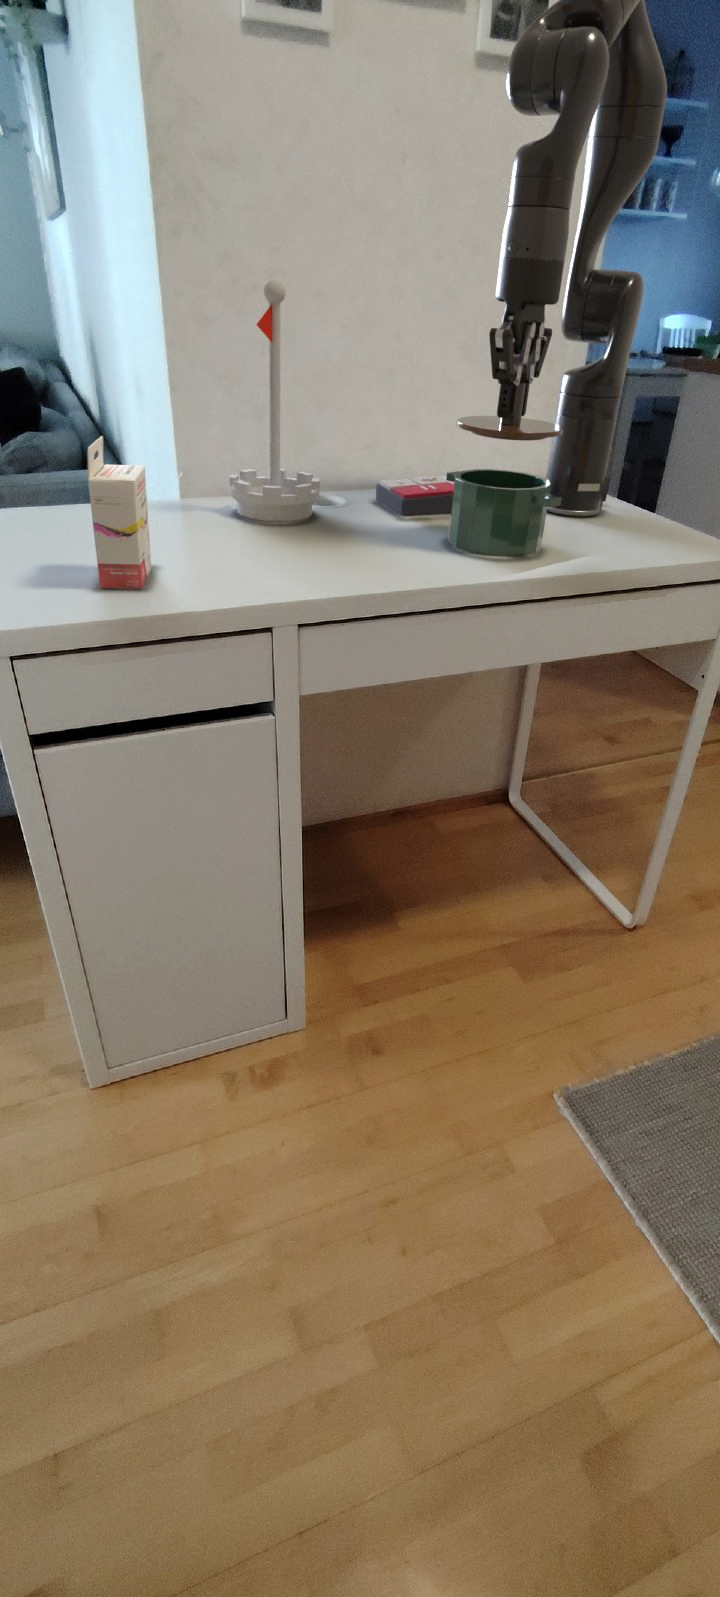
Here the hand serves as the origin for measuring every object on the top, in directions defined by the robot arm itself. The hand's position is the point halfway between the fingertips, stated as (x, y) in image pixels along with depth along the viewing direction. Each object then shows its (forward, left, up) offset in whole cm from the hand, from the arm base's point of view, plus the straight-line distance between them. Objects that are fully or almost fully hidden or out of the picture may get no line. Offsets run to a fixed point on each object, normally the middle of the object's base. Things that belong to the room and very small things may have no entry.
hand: (511, 416), depth 107 cm
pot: (0, 0, -17) cm, 17 cm away
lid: (0, 0, -1) cm, 1 cm away
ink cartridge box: (+48, -14, -17) cm, 53 cm away
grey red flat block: (-8, -20, -17) cm, 27 cm away
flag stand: (+16, -29, -17) cm, 37 cm away
